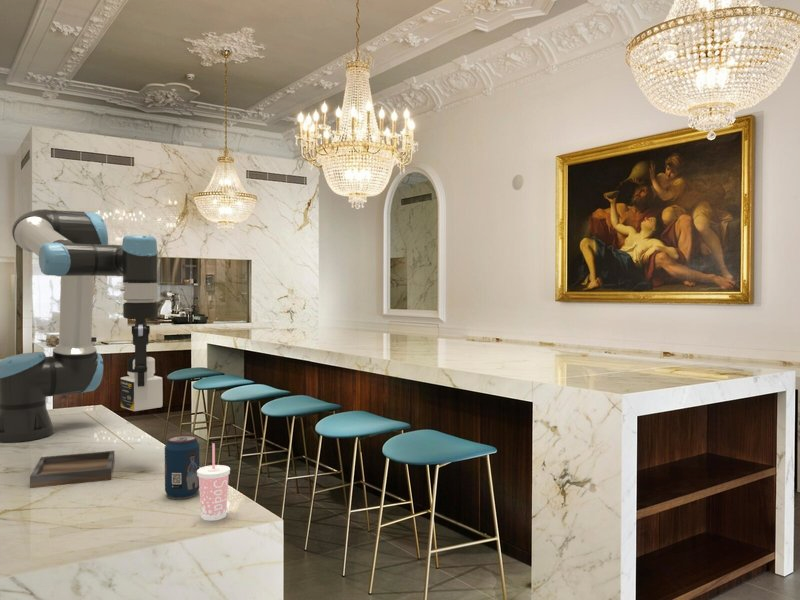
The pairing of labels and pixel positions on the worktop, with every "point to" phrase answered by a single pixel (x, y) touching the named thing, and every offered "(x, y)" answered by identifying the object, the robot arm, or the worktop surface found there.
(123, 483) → the worktop surface
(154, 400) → the medicine bottle
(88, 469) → the wooden tray
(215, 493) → the beverage cup
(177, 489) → the soda can
